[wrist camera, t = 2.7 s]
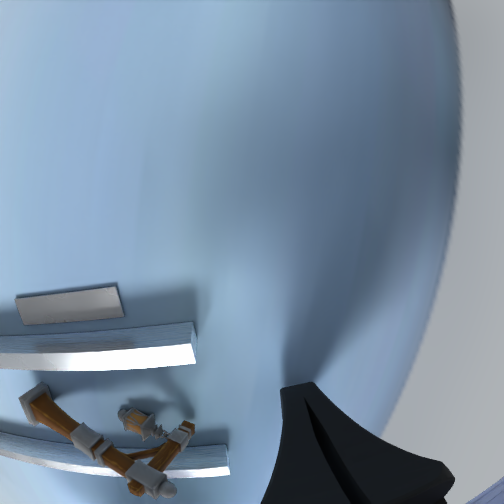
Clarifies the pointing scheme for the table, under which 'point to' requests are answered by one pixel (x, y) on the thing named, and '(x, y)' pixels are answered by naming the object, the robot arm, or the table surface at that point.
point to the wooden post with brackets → (93, 444)
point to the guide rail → (99, 358)
